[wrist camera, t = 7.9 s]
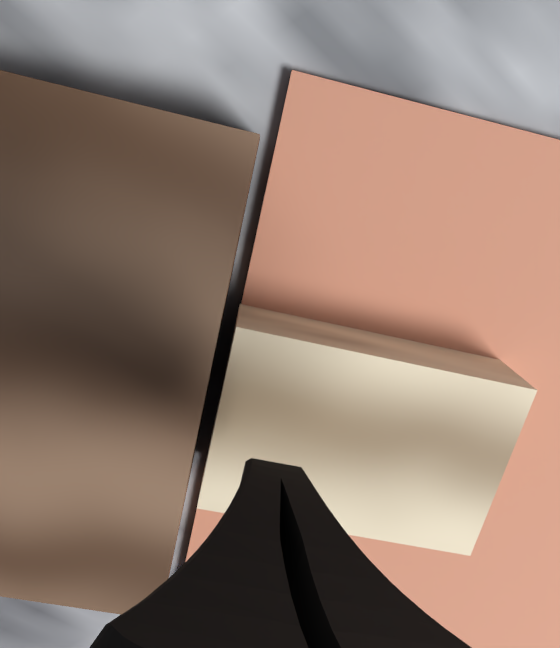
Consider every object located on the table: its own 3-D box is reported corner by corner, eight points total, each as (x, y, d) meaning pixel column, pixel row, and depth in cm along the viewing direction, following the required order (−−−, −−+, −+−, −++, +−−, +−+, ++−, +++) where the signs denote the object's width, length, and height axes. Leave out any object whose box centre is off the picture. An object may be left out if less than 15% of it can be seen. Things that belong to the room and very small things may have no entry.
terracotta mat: (545, 664, 22) (550, 673, 22) (175, 608, 21) (173, 616, 20) (773, 198, 17) (785, 198, 16) (291, 72, 15) (291, 69, 15)
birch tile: (444, 507, 19) (470, 555, 17) (204, 463, 18) (196, 508, 16) (499, 359, 18) (537, 390, 15) (239, 303, 17) (236, 326, 14)
